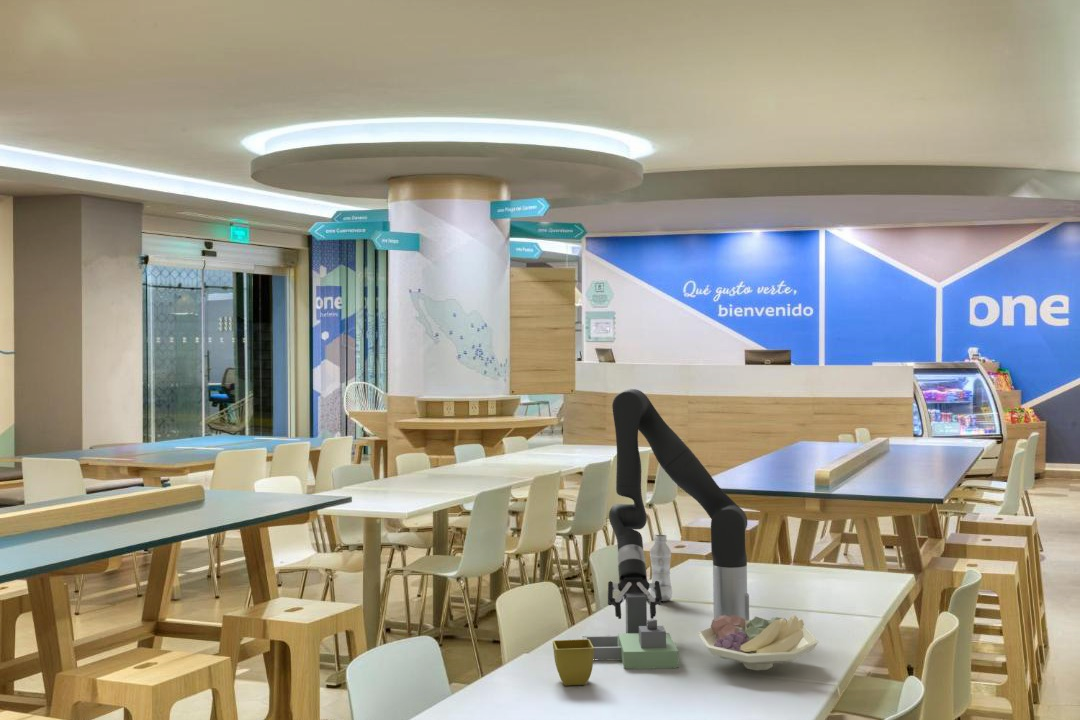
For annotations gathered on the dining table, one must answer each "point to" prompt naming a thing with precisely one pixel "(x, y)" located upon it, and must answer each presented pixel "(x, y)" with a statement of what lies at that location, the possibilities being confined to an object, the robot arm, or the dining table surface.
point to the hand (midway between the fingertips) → (636, 617)
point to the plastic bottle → (661, 566)
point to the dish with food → (758, 640)
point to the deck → (638, 647)
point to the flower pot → (573, 660)
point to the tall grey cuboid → (635, 611)
